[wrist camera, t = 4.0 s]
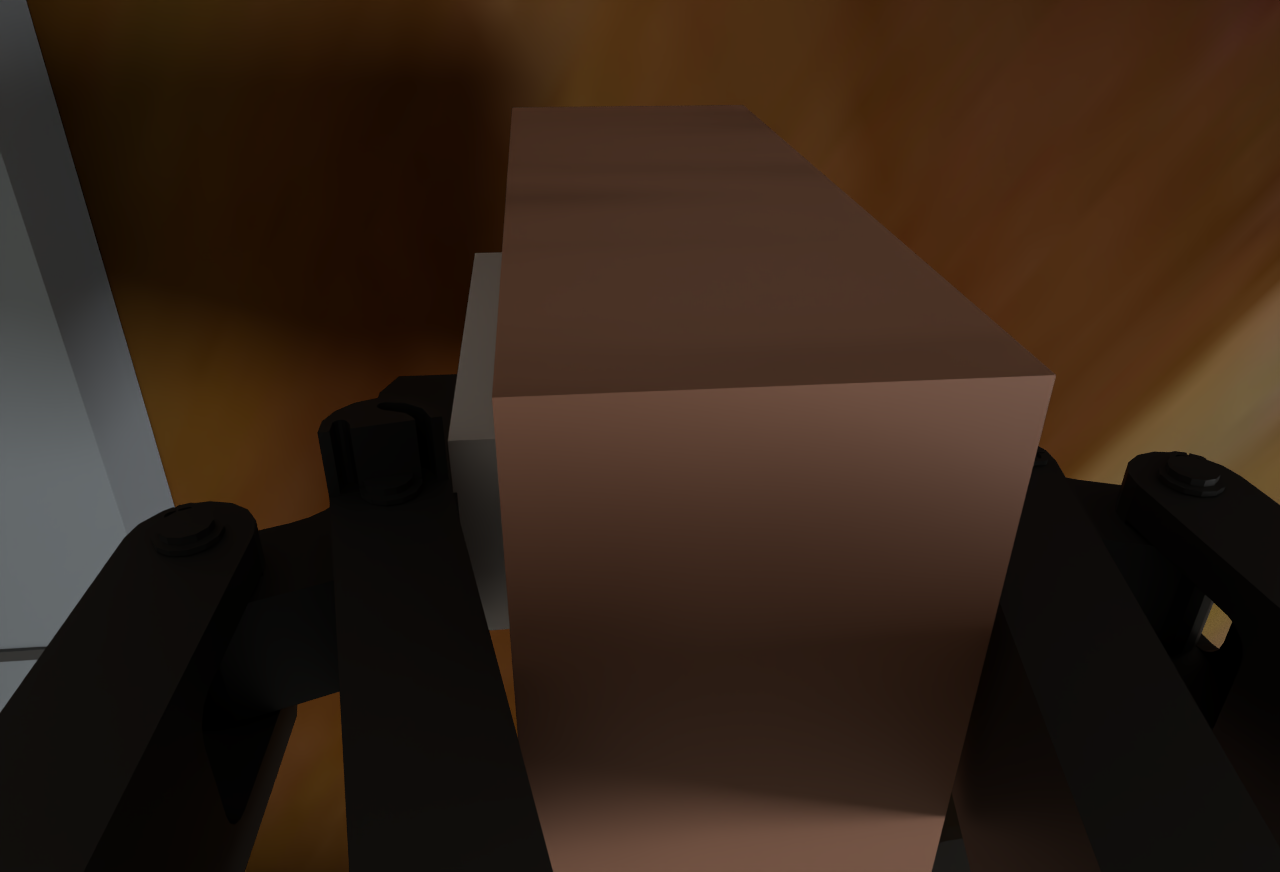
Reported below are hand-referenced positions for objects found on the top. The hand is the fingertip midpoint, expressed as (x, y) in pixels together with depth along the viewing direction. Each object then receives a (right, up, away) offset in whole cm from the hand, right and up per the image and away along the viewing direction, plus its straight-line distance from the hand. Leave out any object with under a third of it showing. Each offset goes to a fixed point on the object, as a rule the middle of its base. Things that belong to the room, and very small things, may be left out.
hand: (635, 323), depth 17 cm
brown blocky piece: (0, -3, +3) cm, 4 cm away
